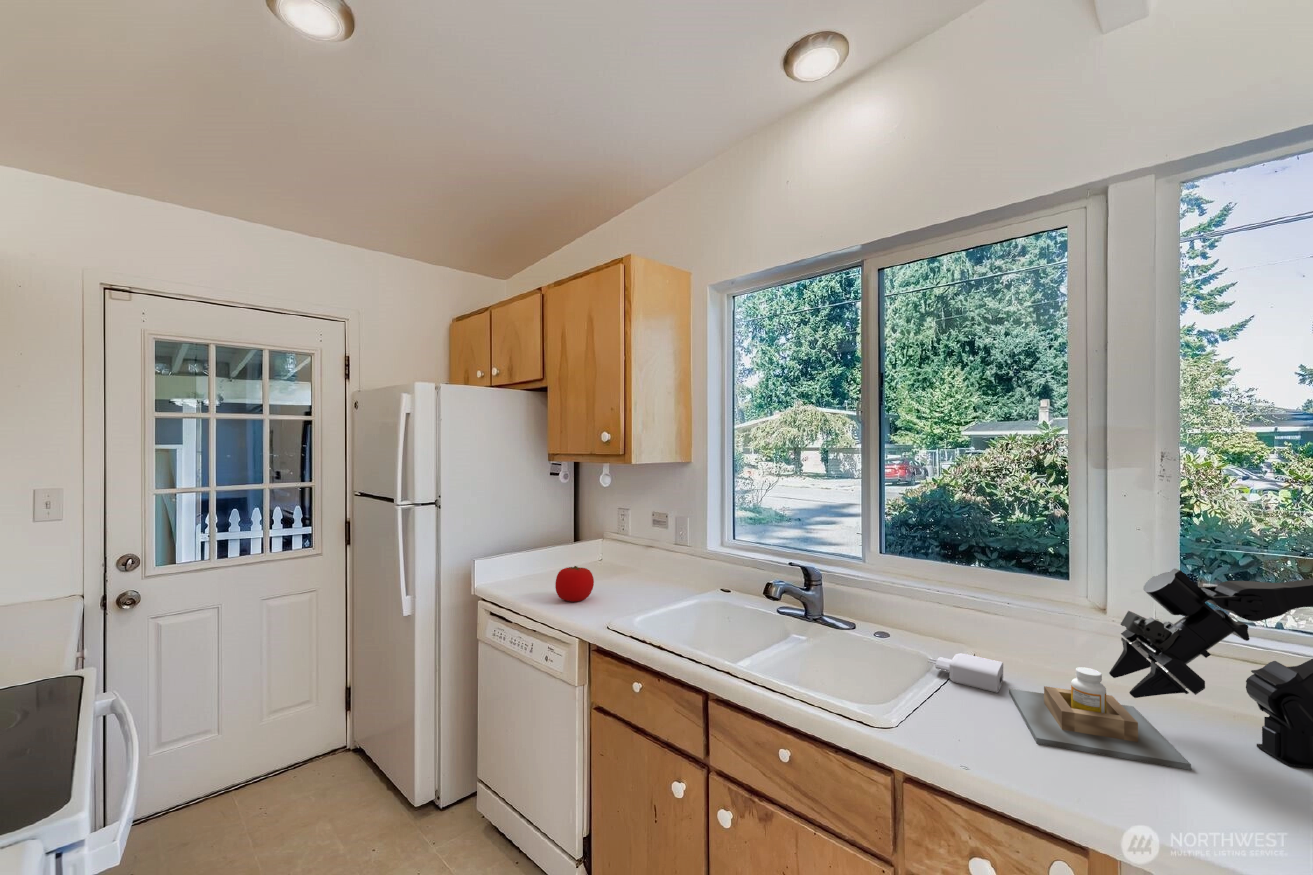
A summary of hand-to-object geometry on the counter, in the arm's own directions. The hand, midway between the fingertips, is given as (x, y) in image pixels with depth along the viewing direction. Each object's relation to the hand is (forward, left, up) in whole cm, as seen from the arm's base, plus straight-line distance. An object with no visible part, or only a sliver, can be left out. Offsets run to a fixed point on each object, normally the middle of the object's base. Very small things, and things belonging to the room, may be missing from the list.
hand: (1121, 685), depth 105 cm
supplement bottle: (+5, -1, -8) cm, 10 cm away
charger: (+20, -21, -9) cm, 31 cm away
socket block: (+5, -1, -9) cm, 10 cm away
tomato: (+130, -66, -9) cm, 146 cm away
